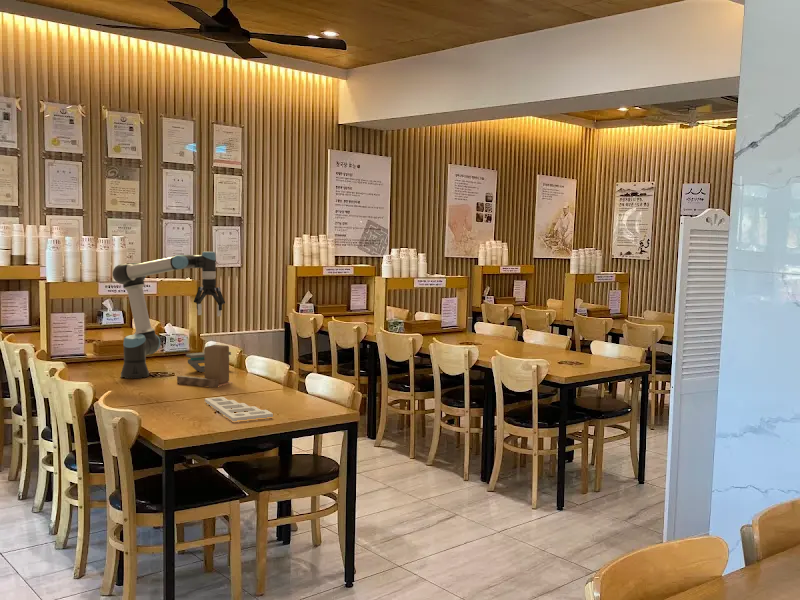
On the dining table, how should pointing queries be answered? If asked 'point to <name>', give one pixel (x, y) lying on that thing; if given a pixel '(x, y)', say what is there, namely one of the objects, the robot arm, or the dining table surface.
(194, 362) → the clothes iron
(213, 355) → the wooden block
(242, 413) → the holder
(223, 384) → the terracotta end mark
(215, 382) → the walnut straightedge
